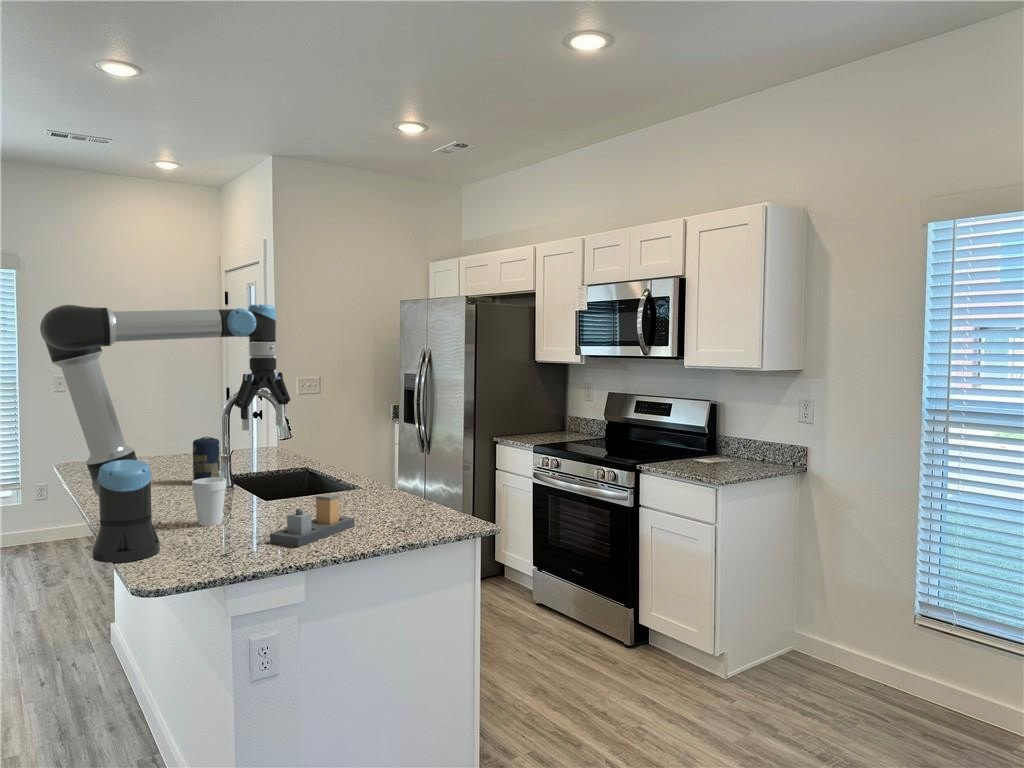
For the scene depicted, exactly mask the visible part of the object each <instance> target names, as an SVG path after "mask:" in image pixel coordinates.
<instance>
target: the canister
mask: <svg viewBox="0 0 1024 768" xmlns="http://www.w3.org/2000/svg"><path fill="white" fill-rule="evenodd" d="M220 455H221V454H220V440H219V438H214V437H211V436H203V437H200V438H196V439H194V440H193V442H192V468H193V469H192V472H193V473H192V479H193V480H192V481H194V480H197V479H202V478H219V476H220V471H219V469H220V467H221V463H220V460H221V459H220ZM220 470H221V469H220Z"/></svg>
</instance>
